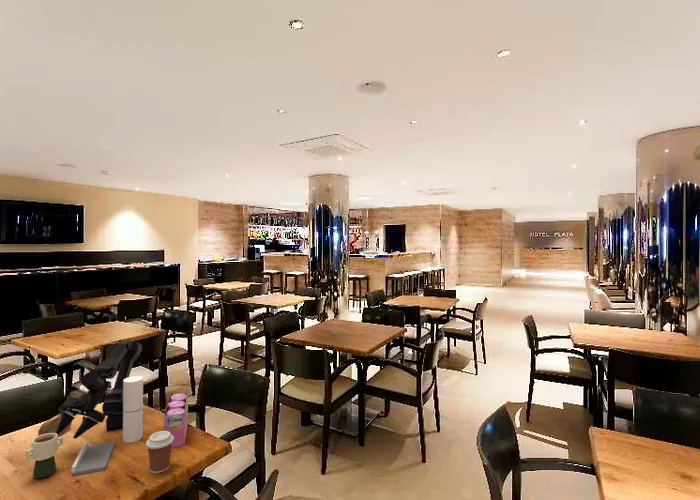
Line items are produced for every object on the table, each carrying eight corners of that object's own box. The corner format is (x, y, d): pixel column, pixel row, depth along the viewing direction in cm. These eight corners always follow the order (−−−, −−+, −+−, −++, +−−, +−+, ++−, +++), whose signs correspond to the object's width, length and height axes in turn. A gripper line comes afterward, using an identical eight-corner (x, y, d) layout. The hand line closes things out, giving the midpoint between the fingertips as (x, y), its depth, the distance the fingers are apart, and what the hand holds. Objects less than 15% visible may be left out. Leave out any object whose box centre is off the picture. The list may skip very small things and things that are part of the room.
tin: (43, 447, 147) (43, 426, 147) (36, 446, 147) (36, 426, 147) (72, 428, 162) (72, 409, 162) (65, 428, 162) (65, 409, 162)
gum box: (169, 422, 169) (169, 392, 169) (188, 419, 172) (188, 390, 172) (163, 449, 147) (163, 415, 147) (184, 446, 150) (185, 412, 149)
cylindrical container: (124, 444, 150) (125, 383, 149) (121, 437, 155) (121, 378, 155) (144, 438, 154) (144, 379, 154) (140, 432, 160) (140, 374, 159)
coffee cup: (139, 472, 132) (139, 439, 132) (160, 458, 141) (160, 427, 140) (158, 478, 129) (159, 444, 129) (179, 463, 137) (179, 431, 137)
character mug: (57, 463, 137) (57, 428, 136) (67, 469, 133) (67, 433, 133) (20, 479, 127) (20, 442, 127) (30, 486, 124) (30, 448, 123)
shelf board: (114, 444, 150) (114, 436, 150) (105, 469, 133) (105, 461, 133) (84, 449, 146) (84, 441, 146) (70, 476, 129) (70, 467, 129)
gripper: (63, 382, 144) (31, 423, 134) (97, 389, 138) (66, 433, 128) (83, 394, 152) (54, 434, 142) (117, 401, 146) (89, 443, 136)
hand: (65, 436), depth 137 cm, fingers open, 9 cm apart
